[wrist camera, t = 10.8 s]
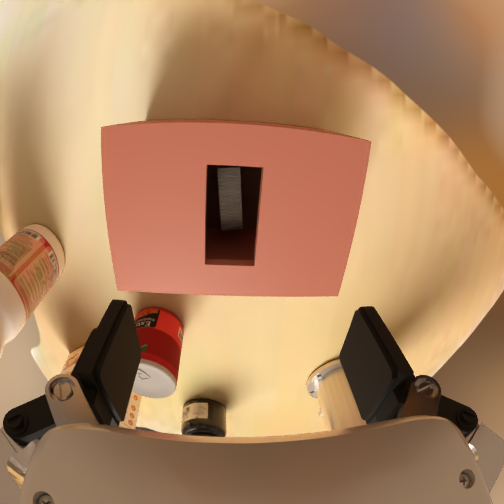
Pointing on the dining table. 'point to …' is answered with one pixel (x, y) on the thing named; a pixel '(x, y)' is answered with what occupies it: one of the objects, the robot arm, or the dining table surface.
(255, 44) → the dining table surface
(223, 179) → the block
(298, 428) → the dining table surface
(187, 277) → the box
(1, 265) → the fruit juice
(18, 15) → the dining table surface
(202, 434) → the ink bottle
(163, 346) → the canned food
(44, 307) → the dining table surface
